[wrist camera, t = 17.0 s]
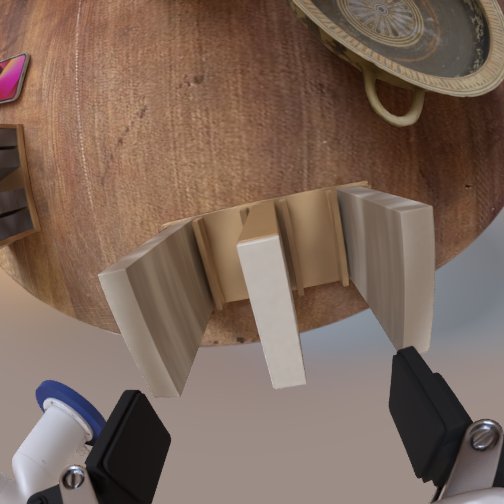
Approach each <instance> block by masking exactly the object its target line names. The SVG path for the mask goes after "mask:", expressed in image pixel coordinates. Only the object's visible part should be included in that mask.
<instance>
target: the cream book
mask: <svg viewBox="0 0 504 504" xmlns="http://www.w3.org/2000/svg"><path fill="white" fill-rule="evenodd" d="M237 251H238V255H239V259H240V263H241V267H242V271H243V275H244V279H245V282H246V286H247V290H248V294H249V298H250V302H251V306H252V310H253V313H254V317H255V321H256V325H257V329H258V333H259V336H260V340H261V344H262V348H263V351H264V355H265V359H266V363H267V367H268V370H269V374H270V378H271V381H272V385H273V389H280V388H286V387H292V386H298V385H304V384H307V381H306V374H305V368H304V361H303V354H302V348H301V342H300V335H299V329H298V323H297V317H296V311H295V305H294V299H293V293H292V287H291V282H290V277H289V272H288V267H287V262H286V257H285V252H284V247H283V242H282V238H281V233H280V228H279V223H278V219H277V213H276V208H275V204H274V201H270V202H266V203H261V204H256V205H253V206H252V207H251V210H250V212H249V215H248V217H247V219H246V222H245V224H244V226H243V229H242V231H241V233H240V236H239V238H238V241H237Z"/></svg>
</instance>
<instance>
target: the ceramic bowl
mask: <svg viewBox="0 0 504 504" xmlns="http://www.w3.org/2000/svg"><path fill="white" fill-rule="evenodd" d="M286 1H287V3H288V5H289V6H290V8H291V10H292V11H293V12H294V14H295V15H296V16H297V18H298V19H299V21H300V22H301V23H302V24H303V25H304V26H305V27H306V29H307V30H308V31H309V32H310V33H311V34H312V35H313V36H314V37H315V38H316V39H318V40H319V41H320V42H321V43H322V44H323V45H324V46H326V47H327V48H328V49H329V50H331V51H332V52H333V53H334V54H336V55H337V56H339V57H340V58H342V59H343V60H345V61H346V62H347V63H349V64H351V65H352V66H354V67H356V68H357V69H359V70H360V71H361V72H362V76H363V82H364V87H365V92H366V95H367V98H368V101H369V103H370V105H371V107H372V109H373V110H374V112H375V113H376V114H377V116H378V117H379V118H381V119H382V120H383V121H384V122H386V123H388V124H389V125H391V126H394V127H397V128H400V127H404V126H408V125H412V124H415V123H416V121H417V120H418V118H419V117H420V114H421V111H422V109H423V103H424V96H425V92H432V93H433V92H436V93H439V94H447V95H450V96H454V97H475V96H481V95H484V94H486V93H488V92H490V91H492V90H494V89H495V88H496V87H498V86H499V85H500V83H501V82H502V81H503V79H504V15H503V13H502V11H501V8H500V6H499V5H498V3H497V1H496V0H286ZM376 79H379V80H382V81H384V82H386V83H389V84H392V85H395V86H398V87H401V88H405V89H409V90H412V92H413V98H412V104H411V107H410V109H409V111H408V112H407V113H406V114H405V115H404V116H403V117H397V116H395V115H392V114H390V113H389V112H388V111H387V110H386V109H385V108H384V107H383V106H382V104H381V103H380V101H379V99H378V96H377V93H376V88H375V81H376Z"/></svg>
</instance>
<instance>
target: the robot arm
mask: <svg viewBox="0 0 504 504" xmlns="http://www.w3.org/2000/svg"><path fill="white" fill-rule="evenodd" d="M392 362H393V363H392V376H391V387H390V398H389V410H390V413H391V415H392V418H393V420H394V422H395V425H396V427H397V429H398V432H399V434H400V437H401V439H402V442H403V444H404V446H405V449H406V451H407V454H408V457H409V459H410V461H411V464H412V467H413V469H414V472H415V475H416V477H417V478H421V477H422V480H423V482H424V483H425V482H428V481H430V480H432V481H433V483H434V485H435V486H437V487H436V489H435V491H434V493H433V495H432V497H431V499H430V502H429V504H504V434H503V430H502V427H501V426H500V425H499V423H497V422H496V421H494V420H490V419H481V420H478V421H475V422H474V423H473V421H472V420H471V418H470V417H469V415H468V414H467V412H466V411H465V409H464V408H463V406H462V405H461V403H460V402H459V400H458V399H457V397H456V396H455V394H454V393H453V391H452V390H451V389H450V387H449V386H448V384H447V383H446V381H445V380H444V378H442V376H441V375H440V374H439V373H432V371H431V370H430V368H429V367H428V365H427V364H426V363H425V361H424V360H423V359H422V357H421V356H420V354H419V353H418V351H417V350H416V349H415V347H414V346H409V347H406V348H403V349H399V350H398V351H397V355H394V356H393V361H392ZM43 407H44V410H45V413H44V415H43V416H42V418H41V419H40V420H39V421H38V423H37V424H36V426H35V427H34V428H33V430H32V431H31V432H30V434H29V435H28V437H27V438H26V439H25V441H24V442H23V443H22V445H21V446H20V448H19V449H18V451H17V452H16V453H15V455H14V456H13V459H12V469H13V473H14V478H15V482H14V481H12V480H11V479H9V478H8V477H7V476H5V475H4V474H3V473H2V472H1V471H0V504H151V503H152V500H153V497H154V494H155V491H156V488H157V484H158V481H159V478H160V475H161V472H162V468H163V465H164V462H165V459H166V456H167V452H168V449H169V446H170V443H171V437H170V434H169V433H168V431H167V430H166V428H165V427H164V425H163V423H162V422H161V420H160V419H159V417H158V416H157V414H156V412H155V411H154V409H153V408H152V406H151V404H150V402H149V401H148V399H147V397H146V396H145V394H142V393H141V391H139V390H125V391H124V392H123V394H122V396H121V397H120V399H119V401H118V403H117V405H116V406H115V408H114V410H113V412H112V413H111V415H110V417H109V419H108V420H107V422H106V424H105V426H104V428H103V429H102V431H101V433H100V435H99V437H98V438H97V440H96V442H95V444H94V446H93V448H92V450H91V452H90V453H89V450H88V449H87V448H86V447H85V446H84V444H85V442H86V441H90V440H91V439H92V437H93V431H92V428H91V427H90V425H89V424H88V422H87V421H86V420H85V419H84V418H83V417H82V416H81V415H80V414H79V413H78V412H77V411H76V410H74V409H73V408H72V407H70V406H69V405H67V404H66V403H64V402H62V401H60V400H58V399H55V398H47V399H46V400H45V401H44V403H43ZM75 451H76V452H77V453H78V454H79V455H80V456H83V455H84V454H88V453H89V455H88V457H87V459H86V461H85V464H86V465H87V466H86V468H84V467H83V466H80V465H71V466H69V467H67V465H68V464H69V462H70V460H71V458H72V457H73V455H74V453H75ZM66 467H67V468H66ZM58 482H59V484H58V485H57V483H58Z"/></svg>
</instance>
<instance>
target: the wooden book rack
mask: <svg viewBox="0 0 504 504" xmlns="http://www.w3.org/2000/svg"><path fill="white" fill-rule="evenodd" d="M40 230H41V227H40V223H39V219H38V215H37V211H36V207H35V203H34V198H33V194H32V189H31V184H30V179H29V173H28V167H27V161H26V154H25V147H24V138H23V128H22V124H17V125H13V124H0V248H2V247H5V246H7V245H9V244H11V243H14V242H16V241H18V240H20V239H22V238H24V237H27V236H29V235H31V234H33V233H36V232H38V231H40Z"/></svg>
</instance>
